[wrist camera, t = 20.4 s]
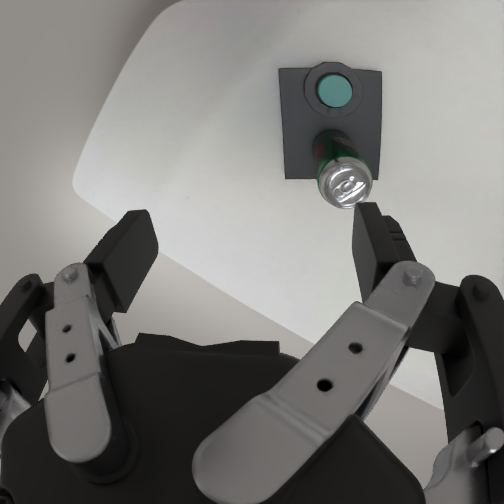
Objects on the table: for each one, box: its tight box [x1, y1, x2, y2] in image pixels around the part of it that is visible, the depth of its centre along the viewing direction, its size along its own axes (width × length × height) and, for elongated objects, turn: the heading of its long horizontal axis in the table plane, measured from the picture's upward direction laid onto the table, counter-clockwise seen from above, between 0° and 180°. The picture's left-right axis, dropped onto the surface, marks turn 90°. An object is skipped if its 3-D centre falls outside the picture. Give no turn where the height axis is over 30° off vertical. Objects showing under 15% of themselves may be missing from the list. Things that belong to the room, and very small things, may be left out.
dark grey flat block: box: [279, 62, 382, 180], centre depth 33 cm, size 15×12×3 cm
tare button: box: [318, 75, 352, 107], centre depth 29 cm, size 4×4×2 cm
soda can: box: [312, 130, 373, 209], centre depth 30 cm, size 5×5×12 cm
